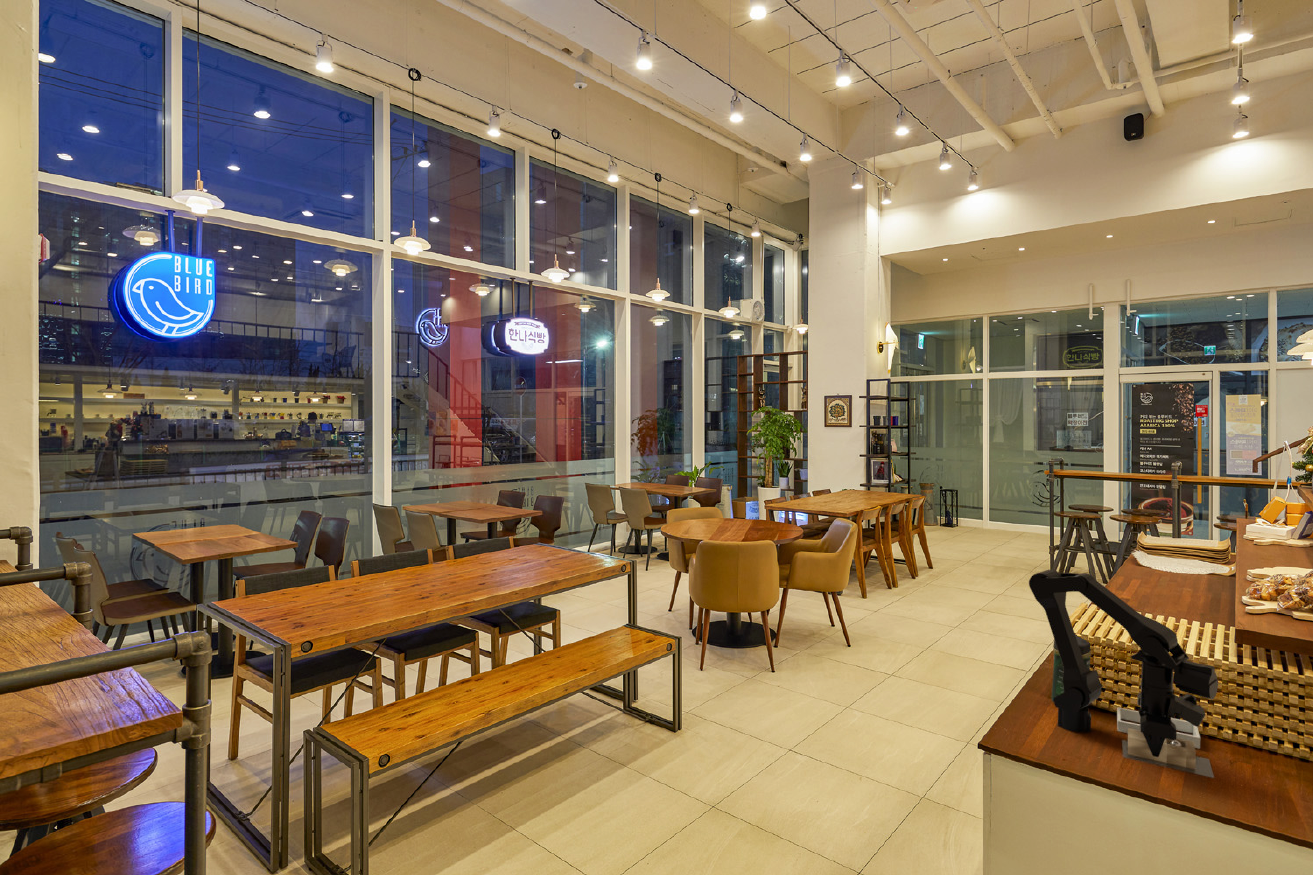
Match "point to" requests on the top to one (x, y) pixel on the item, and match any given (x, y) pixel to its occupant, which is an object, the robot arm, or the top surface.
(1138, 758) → the stud base
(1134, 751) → the beige rectangular block
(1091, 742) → the top surface
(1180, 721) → the tray
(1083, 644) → the coffee jar
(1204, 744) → the top surface
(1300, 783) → the top surface
